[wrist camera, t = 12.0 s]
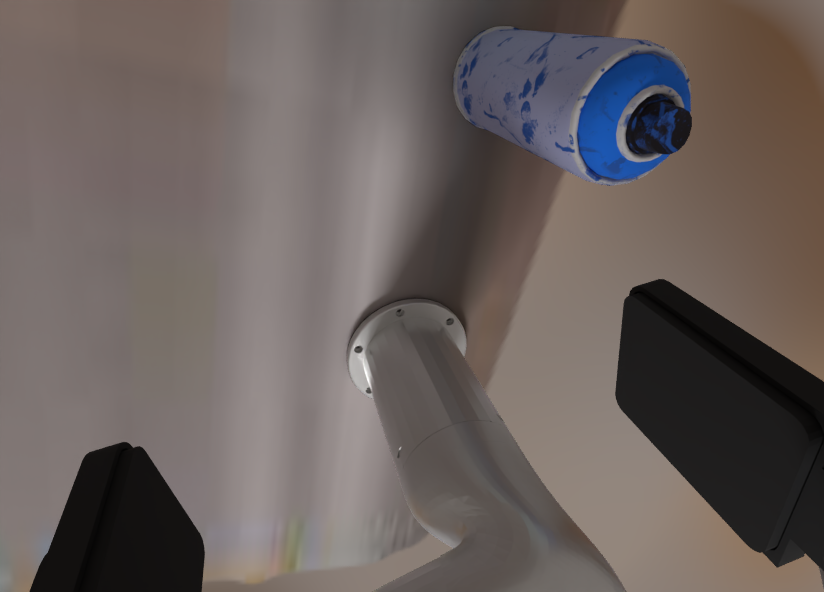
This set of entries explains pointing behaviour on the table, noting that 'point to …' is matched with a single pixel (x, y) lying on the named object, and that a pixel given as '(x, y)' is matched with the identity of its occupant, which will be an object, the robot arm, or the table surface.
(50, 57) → the table surface
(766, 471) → the robot arm
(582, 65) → the aerosol can
